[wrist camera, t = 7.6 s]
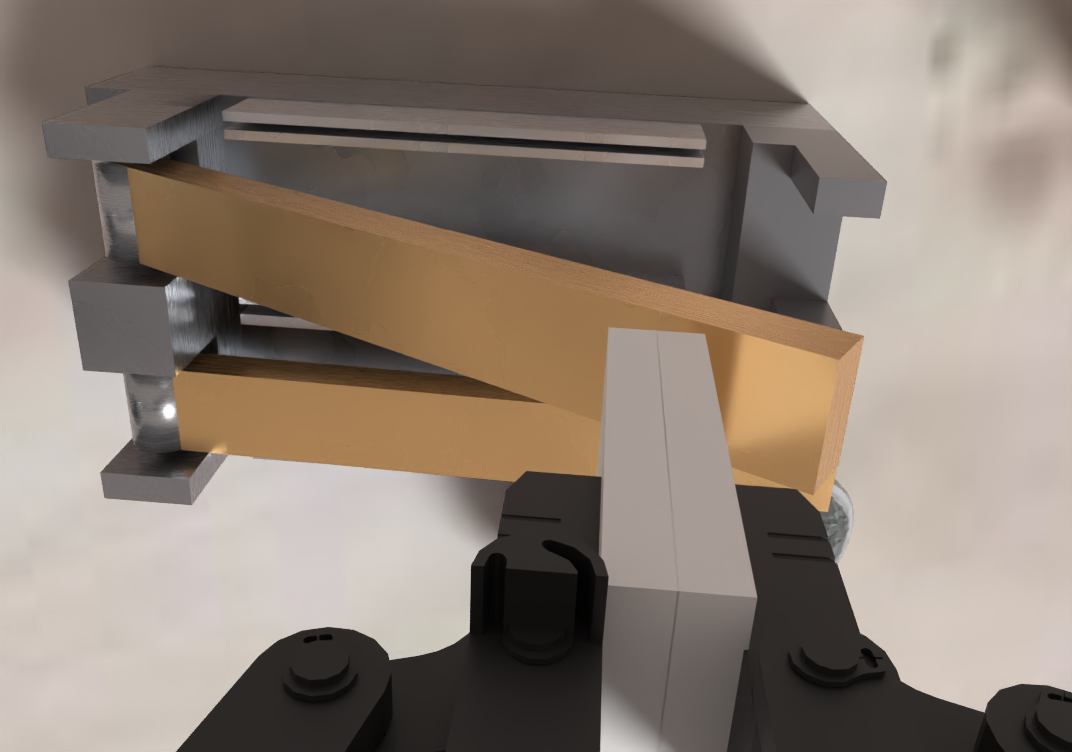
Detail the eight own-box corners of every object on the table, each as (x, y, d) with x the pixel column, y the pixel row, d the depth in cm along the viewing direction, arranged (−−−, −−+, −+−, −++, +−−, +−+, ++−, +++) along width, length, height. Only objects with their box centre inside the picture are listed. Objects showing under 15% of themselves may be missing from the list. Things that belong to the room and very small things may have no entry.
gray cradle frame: (184, 363, 35) (57, 494, 27) (148, 66, 30) (-14, 119, 23) (762, 405, 34) (805, 553, 26) (809, 103, 29) (878, 172, 22)
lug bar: (699, 458, 30) (714, 564, 25) (742, 125, 26) (771, 174, 21) (779, 464, 30) (810, 572, 25) (836, 130, 26) (886, 181, 21)
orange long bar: (151, 419, 29) (121, 450, 27) (141, 342, 28) (108, 369, 26) (819, 481, 27) (829, 518, 25) (834, 403, 26) (846, 435, 24)
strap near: (151, 237, 26) (90, 252, 25) (140, 146, 25) (75, 158, 24) (844, 458, 17) (806, 503, 16) (870, 330, 16) (832, 365, 15)
